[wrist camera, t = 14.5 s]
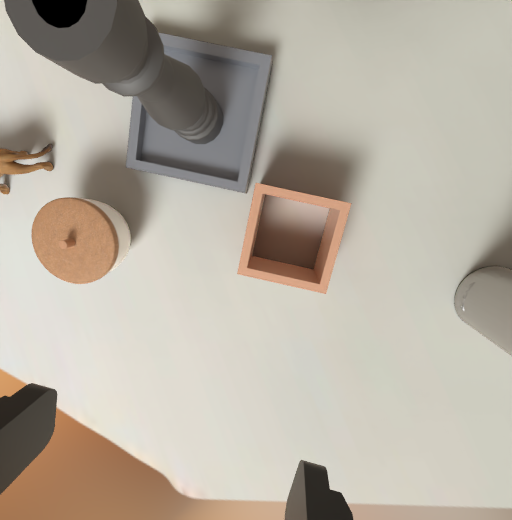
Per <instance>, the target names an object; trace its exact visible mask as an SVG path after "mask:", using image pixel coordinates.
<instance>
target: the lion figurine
mask: <svg viewBox="0 0 512 520" xmlns="http://www.w3.org/2000/svg"><path fill="white" fill-rule="evenodd" d="M51 149H52V145H51V144H48V145H47V146H46V147H44V148H43V150H42V151H41V152H39V153H36V154H28V153H27V152H26V151H20V152H17V151H11V150H7V149H0V177H1V176H3V174H25V173H29V172H33V171H35V170H38V169H43V168H44V169H45V170H47V171H52V170H53V165H52V164H51V163H50V162H40V163H36V164H34V165H23V164H19V163H17V162H14V161H15V160H18V159H32V158H38V157H41V156H43V155H44V154H46V153H47V152H49V151H51ZM0 191H1V192H2V193H3V194H9V187H8V186H7V185H6V184H0Z"/></svg>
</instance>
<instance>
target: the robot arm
mask: <svg viewBox="0 0 512 520" xmlns="http://www.w3.org/2000/svg"><path fill="white" fill-rule="evenodd" d="M454 304H455V309H456V312H457V314H458V316H459V317H460V318H461V319H462V321H464V322H465V323H466V324H468V325H469V326H471V327H472V328H473V329H475V330H476V331H478V332H479V333H480V334H482V335H483V336H484V337H486V338H487V339H489V340H490V341H491V342H493V343H494V344H496V345H497V346H498V347H500V348H501V349H503V350H504V351H505V352H507V353H508V354H510V355H511V356H512V270H511V269H508V268H504V267H500V266H490V267H484V268H482V269H479V270H476V271H475V272H473V273H471V274H470V275H468V276H467V277H466V278H465V279H464V280H463V281H462V283H461V284H460V285H459V287H458V289H457V291H456V294H455V302H454ZM56 403H57V391H56V390H55V389H51V388H48V387H44V386H41V385H37V384H33V383H31V384H28V385H26V386H25V387H23V388H22V389H21V390H19V391H18V392H16V393H15V394H14V395H12V396H11V397H7V396H3V397H1V398H0V494H1V493H2V492H3V491H4V490H5V489H6V488H7V487H8V486H9V485H10V484H11V483H12V482H13V481H14V480H15V479H16V478H17V477H18V476H19V475H20V474H21V472H22V471H23V470H24V469H25V468H26V467H27V466H28V465H29V464H30V463H31V462H32V461H33V460H34V459H35V458H36V457H37V456H38V455H39V454H40V453H41V452H42V450H43V449H44V448H45V446H46V445H47V444H48V442H49V441H50V439H51V436H52V434H53V432H54V427H55V415H56ZM285 520H353V516H352V512H351V510H350V508H349V507H348V505H347V503H346V501H345V499H344V497H343V495H342V493H340V492H337V491H333V490H330V488H329V481H328V474H327V470H326V467H324V466H321V465H317V464H314V463H310V462H307V461H303V460H301V461H300V463H299V465H298V468H297V471H296V474H295V477H294V480H293V484H292V487H291V490H290V493H289V496H288V499H287V505H286V511H285Z"/></svg>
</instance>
